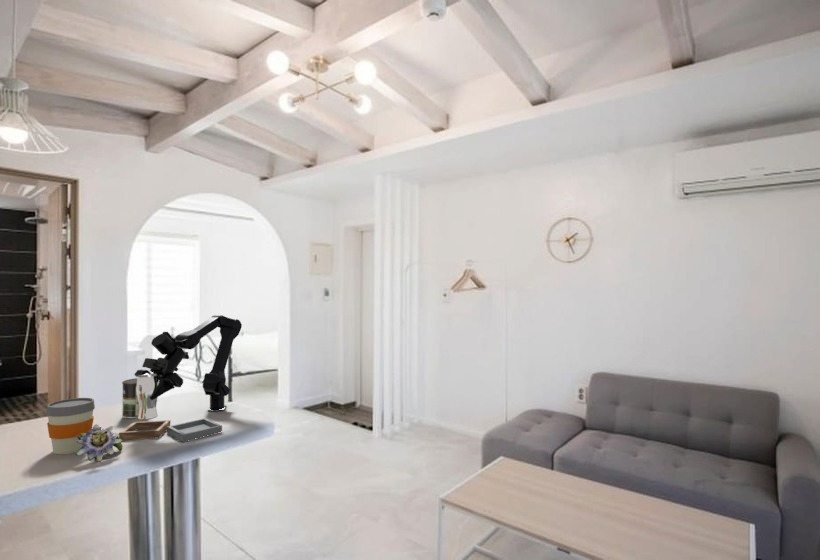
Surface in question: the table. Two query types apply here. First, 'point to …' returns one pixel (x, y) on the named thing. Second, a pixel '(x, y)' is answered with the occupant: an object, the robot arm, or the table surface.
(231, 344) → the robot arm
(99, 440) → the passion flower
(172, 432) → the coaster tray
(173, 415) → the table surface
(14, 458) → the table surface
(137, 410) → the coffee can
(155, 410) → the shiny silver hollow cylinder
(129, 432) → the walnut collar
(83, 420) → the reusable coffee cup
